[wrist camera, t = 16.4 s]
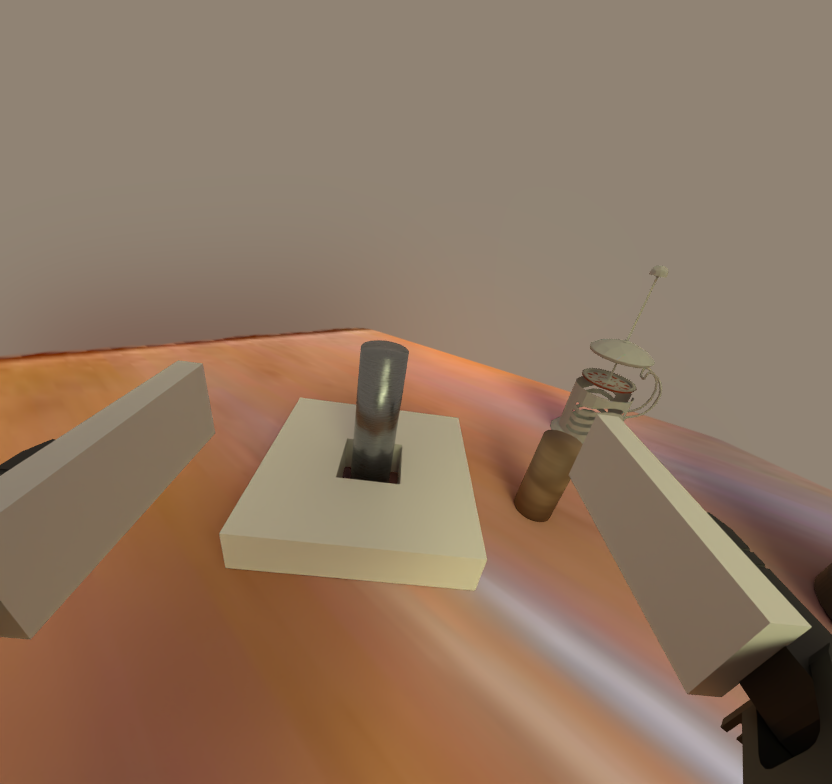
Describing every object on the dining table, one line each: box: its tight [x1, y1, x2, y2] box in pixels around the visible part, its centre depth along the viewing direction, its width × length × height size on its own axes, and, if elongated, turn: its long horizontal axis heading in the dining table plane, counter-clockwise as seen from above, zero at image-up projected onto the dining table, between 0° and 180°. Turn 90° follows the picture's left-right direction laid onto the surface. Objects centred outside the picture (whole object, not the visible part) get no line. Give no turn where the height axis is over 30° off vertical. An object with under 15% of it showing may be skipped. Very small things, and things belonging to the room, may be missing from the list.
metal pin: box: [350, 341, 409, 483], centre depth 32 cm, size 4×4×16 cm
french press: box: [550, 266, 668, 444], centre depth 47 cm, size 10×12×25 cm
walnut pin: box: [514, 430, 583, 522], centre depth 35 cm, size 4×4×9 cm
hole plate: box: [219, 398, 487, 591], centre depth 35 cm, size 20×20×4 cm
